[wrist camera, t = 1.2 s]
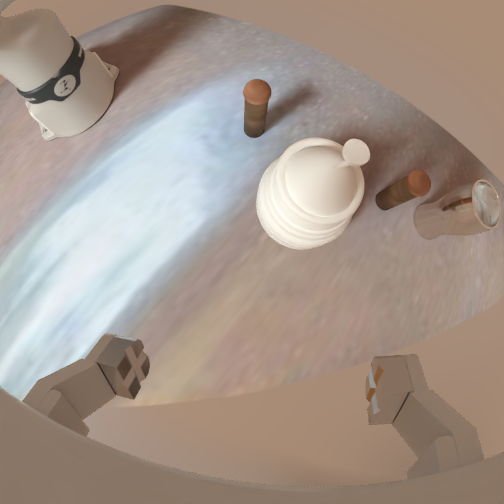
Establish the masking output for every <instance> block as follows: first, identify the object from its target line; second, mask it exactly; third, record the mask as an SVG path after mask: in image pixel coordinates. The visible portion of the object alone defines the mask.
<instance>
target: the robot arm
mask: <svg viewBox="0 0 504 504" xmlns="http://www.w3.org/2000/svg"><path fill="white" fill-rule="evenodd" d="M14 1H15V0H0V13H1V12H2V11H3V10H4V9H6V7H8V6H9V5H10V4H11V3H12V2H14ZM0 74H1V75H2V76H4V77H5V78H6V79H8V80H9V81H10V82H11V83H12V84H14V85H15V86H16V87H17V91H18V92H19V93H20V95H21V96H22V97H23V98H24V99H25V100H27V101H26V102H25V104H26V106H27V107H28V108H29V109H28V111H29V113H30V114H31V116H32V117H33V118H34V119H35V120H37V121H38V122H39V126H40V129H41V132H42V136H43V138H44V139H45V140H46V141H50V140H52V139H55V138H57V137H61V136H62V137H68V136H73V135H76V134H79V133H81V132H83V131H85V130H86V129H88V128H89V127H91V126H92V125H93V124H94V123H95V122H96V121H97V120H98V119H99V118H100V117H101V116H102V115H103V114H104V112H105V111H106V109H107V108H108V106H109V104H110V102H111V100H112V97H113V93H114V82H115V80H116V78H117V76H118V74H119V69H118V68H117V67H116V66H114V65H111V64H108V63H106V62H103V61H102V60H101V59H100V58H99V56H98V55H97V54H96V53H95V52H91V51H87V50H83V49H82V46H81V44H80V43H79V42H78V41H77V40H76V39H75V38H74V37H73V36H70V35H69V33H68V32H67V30H66V29H65V27H64V26H63V24H62V23H61V21H60V20H59V18H58V17H57V15H56V14H55V13H54V12H53V11H51V10H48V9H34V10H29V11H26V12H24V13H21V14H18V15H15V16H11V17H2V16H0ZM143 348H144V346H143V343H142V341H141V340H138V339H134V338H129V337H125V336H120V335H115V334H111V333H106V334H104V335H103V336H102V337H101V339H100V340H99V341H98V343H97V344H96V345H95V346H94V348H93V349H92V350H91V352H90V353H89V354H88V356H87V357H86V358H85V359H80V360H78V361H76V362H74V363H72V364H70V365H68V366H66V367H64V368H62V369H60V370H58V371H56V372H54V373H52V374H50V375H48V376H46V377H44V378H42V379H40V380H38V381H37V382H36V384H35V385H34V386H33V388H32V389H31V390H30V392H29V393H28V394H27V396H26V397H25V398H24V400H23V401H21V400H19V399H18V398H16V397H15V396H13V395H12V394H10V393H9V392H7V391H6V390H4V389H3V388H2V387H0V504H504V452H502V453H500V454H497V455H494V456H492V457H489V458H486V459H484V457H483V453H482V449H481V445H480V441H479V437H478V434H477V430H476V428H475V427H474V426H473V425H472V424H471V423H470V422H469V421H467V420H466V419H465V418H464V417H463V416H462V415H461V414H460V413H458V412H457V411H456V410H455V409H454V408H453V407H451V406H450V405H449V404H448V403H447V402H446V401H445V400H443V399H442V398H441V397H440V396H439V395H438V394H436V393H435V392H434V391H433V390H428V387H427V383H426V380H425V377H424V373H423V370H422V367H421V364H420V361H419V358H418V356H417V355H416V354H412V355H411V354H410V355H394V356H376V357H374V358H373V360H372V363H371V367H372V371H370V372H369V373H368V376H367V379H366V399H367V400H368V401H369V402H370V404H369V407H368V409H367V411H368V421H369V425H377V424H392V425H393V427H394V428H395V429H396V430H397V432H398V433H399V434H400V436H401V437H402V438H403V439H404V441H405V442H406V443H407V444H408V446H409V447H410V448H411V450H412V451H413V452H414V453H415V455H416V456H417V457H418V460H417V461H416V462H415V463H414V464H413V465H412V467H410V469H408V471H407V479H406V480H400V481H394V482H386V483H379V484H369V485H358V486H340V487H297V486H278V485H267V484H257V483H248V482H240V481H234V480H228V479H222V478H216V477H211V476H206V475H201V474H197V473H192V472H188V471H184V470H180V469H176V468H172V467H168V466H165V465H162V464H158V463H155V462H152V461H149V460H146V459H142V458H139V457H136V456H133V455H131V454H128V453H125V452H122V451H120V450H117V449H115V448H112V447H110V446H107V445H105V444H102V443H100V442H98V441H95V440H93V439H91V438H88V437H86V436H87V434H88V432H89V428H88V426H87V425H86V424H85V423H84V422H83V419H85V418H86V417H88V416H89V415H90V414H92V413H93V412H95V411H96V410H97V409H99V408H100V407H102V406H103V405H104V404H106V403H107V402H108V401H110V400H111V399H113V398H114V397H115V396H116V395H118V396H122V397H126V398H129V399H133V400H134V399H135V397H136V395H137V393H138V392H139V390H140V388H141V385H140V382H141V381H142V380H144V379H146V377H147V375H148V373H149V368H150V362H149V358H148V356H147V355H146V354H145V353H144V352H143V351H142V350H143Z"/></svg>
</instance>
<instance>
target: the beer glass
mask: <svg viewBox="0 0 504 504" xmlns="http://www.w3.org/2000/svg"><path fill="white" fill-rule="evenodd" d="M500 219H501V203H500V199H499V196H498V194H497V192H496V190H495V188H494V187H493V186H492V184H491V183H489V182H488V181H486V180H484V179H480V180H477V181H474V182H470V183H467V184H464V185H461V186H459V187H456V188H454V189H453V190H451V191H450V192H448V193H447V194H445V195H444V196H443V197H441V198H440V199H439V200H437V201H436V202H434V203H425V204H422V205H420V206H419V207H418V208H417V209H416V211H415V214H414V224H415V227H416V230H417V232H418V233H419V234H420V235H421V236H422V237H423V238H425V239H428V240H431V239H435V238H437V237H438V236H440V235H445V234H446V235H458V236H468V235H474V234H479V233H482V232H485V231H488V230H492V229H495V228H496V227H497V226H498V224H499V222H500Z"/></svg>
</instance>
